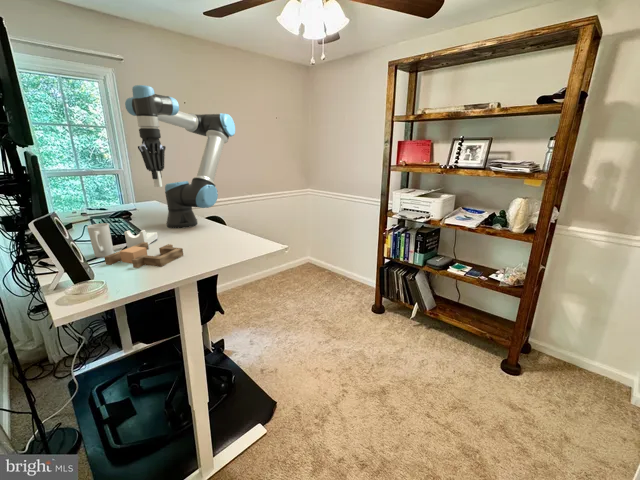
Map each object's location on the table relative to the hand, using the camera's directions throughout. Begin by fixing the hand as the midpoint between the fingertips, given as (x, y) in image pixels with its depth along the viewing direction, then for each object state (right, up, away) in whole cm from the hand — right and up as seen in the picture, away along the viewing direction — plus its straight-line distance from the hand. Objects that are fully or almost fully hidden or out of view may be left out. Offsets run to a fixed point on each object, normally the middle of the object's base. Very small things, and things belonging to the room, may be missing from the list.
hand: (158, 186), depth 129 cm
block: (0, -31, -16) cm, 35 cm away
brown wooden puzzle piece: (+4, -30, -14) cm, 34 cm away
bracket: (-8, -25, +3) cm, 27 cm away
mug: (-15, -29, -12) cm, 35 cm away
